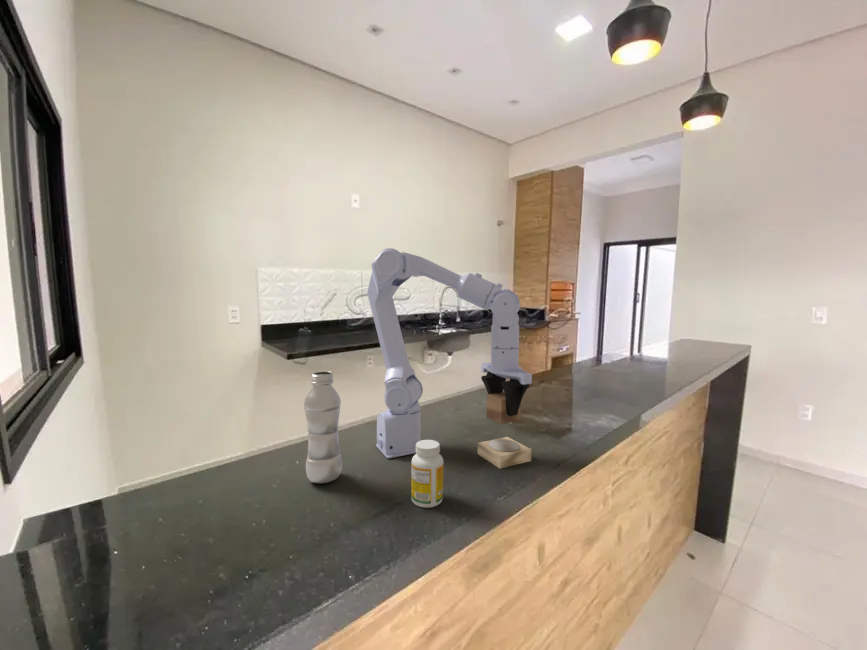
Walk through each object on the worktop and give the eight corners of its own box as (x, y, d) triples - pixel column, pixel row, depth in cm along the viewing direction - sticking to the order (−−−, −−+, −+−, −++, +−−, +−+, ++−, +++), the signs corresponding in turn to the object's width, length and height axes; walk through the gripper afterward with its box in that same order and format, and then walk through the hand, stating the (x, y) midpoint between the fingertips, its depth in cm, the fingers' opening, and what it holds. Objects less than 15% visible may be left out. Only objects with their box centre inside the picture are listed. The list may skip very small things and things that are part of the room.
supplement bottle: (417, 511, 60) (417, 452, 59) (406, 495, 65) (406, 440, 64) (448, 504, 62) (448, 447, 61) (435, 489, 67) (436, 436, 66)
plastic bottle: (350, 476, 71) (348, 372, 70) (322, 492, 66) (320, 378, 64) (325, 468, 75) (323, 368, 73) (297, 482, 69) (295, 374, 68)
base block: (499, 468, 75) (500, 454, 75) (477, 453, 82) (477, 441, 82) (531, 460, 79) (531, 447, 78) (507, 447, 86) (507, 435, 85)
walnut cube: (500, 424, 76) (501, 399, 76) (486, 417, 81) (486, 394, 80) (520, 420, 78) (520, 397, 78) (505, 414, 83) (505, 391, 83)
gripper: (544, 350, 74) (542, 418, 75) (499, 342, 87) (498, 400, 88) (515, 352, 71) (514, 423, 72) (473, 344, 84) (473, 404, 85)
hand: (504, 411), depth 80 cm, fingers closed on walnut cube, 5 cm apart
